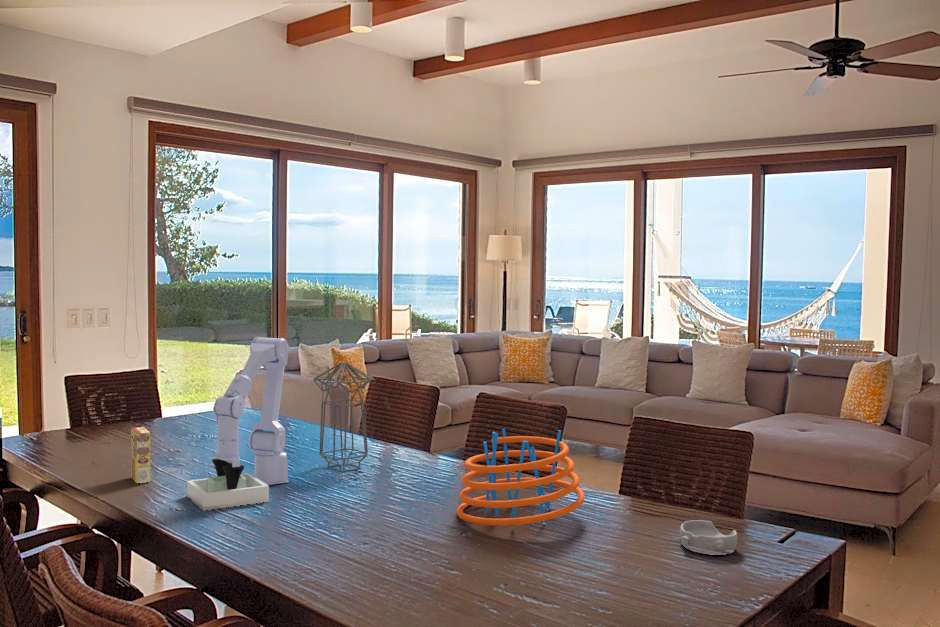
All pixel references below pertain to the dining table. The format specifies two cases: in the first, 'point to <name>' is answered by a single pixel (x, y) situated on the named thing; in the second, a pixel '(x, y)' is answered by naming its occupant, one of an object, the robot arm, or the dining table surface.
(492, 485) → the toy basket
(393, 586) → the dining table surface
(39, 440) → the dining table surface
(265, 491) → the white crate
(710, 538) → the dish
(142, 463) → the candy box
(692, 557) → the dining table surface
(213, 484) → the green crate
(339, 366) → the geometric lantern
